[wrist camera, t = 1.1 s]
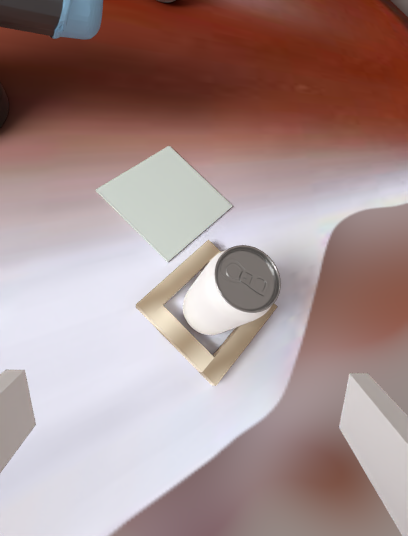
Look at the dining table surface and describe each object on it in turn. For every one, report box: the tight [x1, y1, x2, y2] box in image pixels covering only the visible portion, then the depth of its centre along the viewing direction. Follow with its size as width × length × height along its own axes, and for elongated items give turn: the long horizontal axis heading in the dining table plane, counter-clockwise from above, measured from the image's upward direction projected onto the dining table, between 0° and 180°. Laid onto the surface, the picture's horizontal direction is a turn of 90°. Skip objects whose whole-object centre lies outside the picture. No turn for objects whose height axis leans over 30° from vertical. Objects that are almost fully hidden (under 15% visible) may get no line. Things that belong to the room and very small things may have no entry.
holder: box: [136, 240, 277, 386], centre depth 31 cm, size 12×12×2 cm
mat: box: [96, 146, 232, 262], centre depth 35 cm, size 13×13×1 cm
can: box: [183, 245, 281, 335], centre depth 26 cm, size 6×6×12 cm
